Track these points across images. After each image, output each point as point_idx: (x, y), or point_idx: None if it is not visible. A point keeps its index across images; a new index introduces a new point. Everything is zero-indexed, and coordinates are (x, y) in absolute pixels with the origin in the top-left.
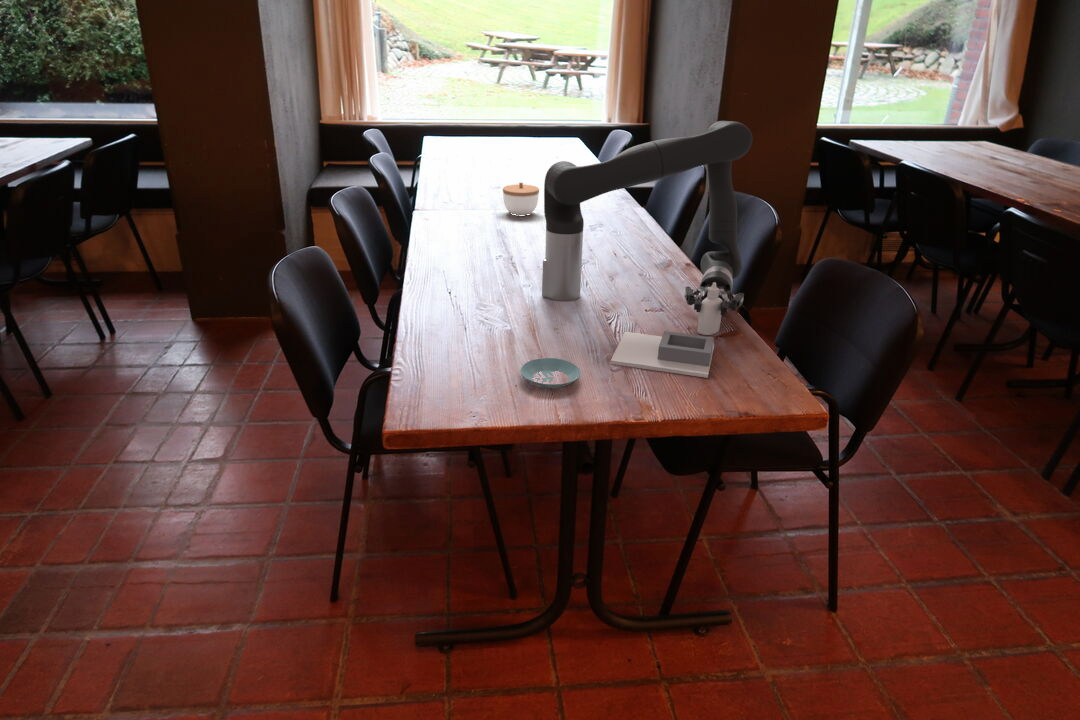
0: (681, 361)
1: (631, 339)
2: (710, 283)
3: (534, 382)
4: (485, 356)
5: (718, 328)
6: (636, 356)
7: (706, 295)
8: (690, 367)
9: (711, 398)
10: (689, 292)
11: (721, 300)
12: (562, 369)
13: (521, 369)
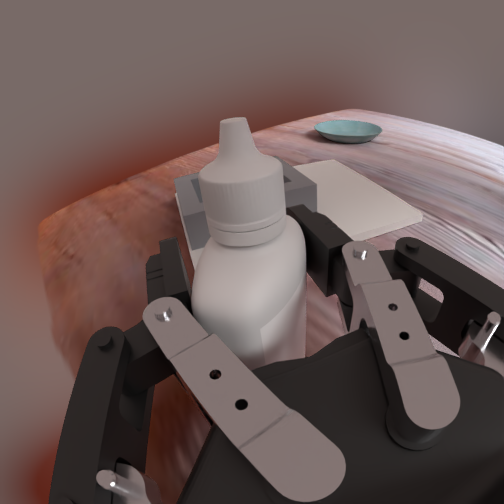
0: None
1: (380, 200)
2: (495, 496)
3: (339, 121)
4: (432, 140)
5: None
6: (314, 174)
7: (363, 336)
8: None
9: (160, 179)
10: (447, 262)
11: (195, 279)
12: (355, 141)
13: (368, 123)
